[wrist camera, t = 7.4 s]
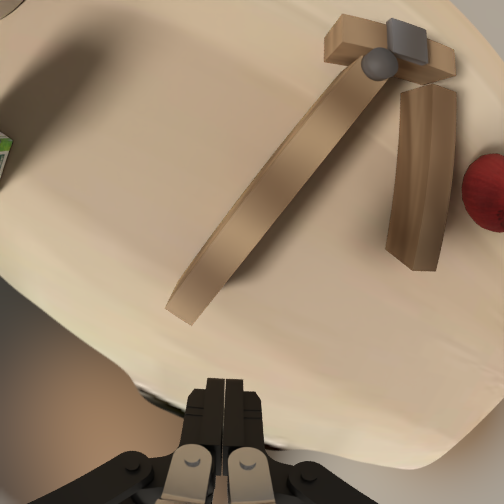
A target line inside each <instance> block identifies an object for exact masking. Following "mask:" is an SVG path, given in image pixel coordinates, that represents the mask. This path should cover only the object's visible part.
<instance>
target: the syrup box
mask: <svg viewBox="0 0 504 504" xmlns="http://www.w3.org/2000/svg"><path fill="white" fill-rule="evenodd" d="M12 142H13V140H11V139H10V138H9V137H7V136H6V135H4V134H3V133H1V132H0V178H1V175H2V172H3V168H4V165H5V162H6V159H7V156H8V153H9V150H10V147H11V145H12Z"/></svg>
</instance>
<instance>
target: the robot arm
mask: <svg viewBox="0 0 504 504" xmlns="http://www.w3.org/2000/svg"><path fill="white" fill-rule="evenodd" d="M22 1H23V0H0V19H1V18H3V17H5V16H6V15H8V14H9V13H10V12H11V11H13V10H14V9H15V8H16V7H17V6H18V5H19V4H20V3H21V2H22ZM224 389H225V379H219V378H207V385H206V389H194V390H193V391H192V393H191V394H190V395H189V396H188V400H187V406H186V411H185V417H184V422H183V428H182V434H181V440H180V444H179V447H178V448H177V449H176V450H175V451H174V452H173V453H172V454H170V455H167V456H163V457H157V458H148V457H147V456H146V455H144V454H142V453H140V452H137V451H127V452H124V453H121V454H120V455H118V456H116V457H115V458H113V459H111V460H110V461H108V462H106V463H105V464H103V465H101V466H99V467H97V468H96V469H94V470H92V471H91V472H89V473H87V474H85V475H84V476H81V477H80V478H78V479H76V480H74V481H72V482H70V483H68V484H67V485H65V486H63V487H61V488H59V489H57V490H55V491H53V492H51V493H49V494H47V495H45V496H43V497H41V498H38V499H36V500H34V501H32V502H30V503H28V504H212V500H213V493H214V489H215V480H216V475H219V476H220V475H221V466H222V444H223V475H224V476H228V484H227V487H228V489H227V492H228V504H378V503H377V502H375V501H374V500H372V499H370V498H369V497H367V496H366V495H364V494H363V493H361V492H359V491H358V490H356V489H355V488H353V487H352V486H350V485H349V484H347V483H346V482H344V481H343V480H342V479H340V478H339V477H337V476H336V475H335V474H333V473H332V472H330V471H329V470H327V469H326V468H325V467H323V466H322V465H320V464H318V463H316V462H311V461H304V462H300V463H298V464H296V465H294V466H292V465H288V464H283V463H279V462H277V461H275V460H273V459H272V458H270V457H269V456H268V455H267V453H266V451H265V447H264V436H263V422H262V409H261V400H260V398H259V397H258V395H257V394H256V392H249V391H243V380H242V379H226V389H225V408H224ZM223 423H224V428H223Z"/></svg>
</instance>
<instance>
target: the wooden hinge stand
mask: <svg viewBox="0 0 504 504" xmlns="http://www.w3.org/2000/svg"><path fill="white" fill-rule="evenodd" d="M377 47H382V48H385V49H387V50H389V51H391V52H392V53H393V54H394V56H395V57H396V59H397V61H398V71H397V73H396V74H395V75H394V76H393V77H396V78H400V79H404V80H407V81H410V82H414V83H417V84H420V85H425V84H429V83H432V82H435V81H439V80H442V79H446V78H450V77H453V76H456V68H455V54H454V49H451V48H449V47H447V46H444V45H442V44H440V43H437V42H435V41H432V40H430V39H427V36H426V30H425V29H423V28H420V27H417V26H414V25H412V24H409V23H406V22H403V21H400V20H397V19H394V18H391V19H390V20H388V21H387V22H386V25H385V24H382V23H378V22H375V21H371V20H367V19H363V18H359V17H355V16H350V15H346V14H342V15H341V16H340V17H339V19H338V20H337V21H336V23H335V24H334V26H333V27H332V28H331V30H330V31H329V32H328V34H327V35H326V36H325V38H324V62H327V63H333V64H339V65H344V66H349V65H350V64H352V63H353V62H354V61H356V60H357V59H358V58H359V57H361V56H363V57H364V56H365V55H366V54H367V53H369V52H370V51H371V50H373V49H374V48H377ZM456 108H457V100H456V92H454V91H451V90H449V89H446V88H443V87H441V86H438V85H435V84H430V85H426V86H423V87H419V88H416V89H413V90H409V91H406V92H403V93H401V102H400V128H399V144H398V157H397V168H396V178H395V187H394V195H393V203H392V210H391V217H390V224H389V230H388V236H387V242H386V248H385V249H386V250H387V251H388V252H389V253H391V254H392V255H393V256H394V257H396V258H397V259H398V260H400V261H401V262H402V263H403V264H405V265H406V266H407V267H408V268H410V269H411V270H412V271H436V268H437V264H438V260H439V255H440V251H441V246H442V241H443V236H444V231H445V225H446V220H447V214H448V207H449V200H450V193H451V185H452V177H453V167H454V155H455V140H456Z"/></svg>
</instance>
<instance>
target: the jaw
mask: <svg viewBox="0 0 504 504" xmlns="http://www.w3.org/2000/svg"><path fill="white" fill-rule="evenodd" d="M397 71H398V61H397V59H396V57H395V56H394V54H393V53H392V52H391V51H389V50H387V49H385V48H382V47H377V48H374V49H373V50H371V51H370V52H369V53H367V54H366V55H365V56H364V57H363V56H361V57H359V58H358V59H357V60H356V61H354V62H353V63H352V64H350V65H349V66H348V67H347V68H345V69H344V70H343V71H342V72H341V73H340V74H339V75H338V76H337V77H336V78H335V80H334V81H333V82H332V83H331V84H330V86H329V87H328V88H327V89H326V90H325V91H324V93H323V94H322V95H321V96H320V97H319V99H318V100H317V101H316V102H315V103H314V105H313V106H312V107H311V108H310V109H309V111H308V112H307V113H306V114H305V116H304V117H303V118H302V119H301V120H300V122H299V123H298V124H297V125H296V127H295V128H294V129H293V130H292V131H291V133H290V134H289V135H288V136H287V138H286V139H285V140H284V141H283V143H282V144H281V145H280V146H279V148H278V149H277V150H276V151H275V153H274V154H273V155H272V157H271V158H270V159H269V160H268V162H267V163H266V164H265V165H264V167H263V168H262V169H261V171H260V172H259V173H258V174H257V176H256V177H255V178H254V180H253V181H252V182H251V183H250V185H249V186H248V187H247V189H246V190H245V191H244V193H243V194H242V195H241V196H240V198H239V199H238V200H237V202H236V203H235V204H234V206H233V207H232V208H231V210H230V211H229V212H228V214H227V215H226V216H225V218H224V219H223V220H222V222H221V223H220V224H219V226H218V227H217V228H216V230H215V231H214V232H213V234H212V235H211V236H210V238H209V239H208V241H207V242H206V243H205V245H204V246H203V247H202V249H201V250H200V252H199V253H198V254H197V256H196V257H195V258H194V260H193V261H192V263H191V264H190V265H189V267H188V268H187V270H186V271H185V272H184V274H183V275H182V277H181V278H180V279H179V281H178V283H177V285H176V287H175V289H174V291H173V293H172V295H171V297H170V299H169V301H168V303H167V305H166V307H165V309H166V310H168V311H169V312H171V313H172V314H174V315H175V316H177V317H178V318H180V319H182V320H183V321H185V322H186V323H188V324H189V325H191V326H192V325H193V323H194V322H195V321H196V320H197V318H198V317H199V316H200V315H201V313H202V312H203V311H204V310H205V308H206V307H207V306H208V305H209V303H210V302H211V301H212V300H213V298H214V297H215V296H216V294H217V293H218V292H219V291H220V289H221V288H222V287H223V286H224V284H225V283H226V282H227V281H228V279H229V278H230V277H231V276H232V274H233V273H234V272H235V271H236V269H237V268H238V267H239V266H240V264H241V263H242V262H243V261H244V259H245V258H246V257H247V255H248V254H249V253H250V252H251V250H252V249H253V248H254V247H255V245H256V244H257V243H258V242H259V240H260V239H261V238H262V237H263V235H264V234H265V233H266V232H267V230H268V229H269V228H270V227H271V225H272V224H273V223H274V222H275V220H276V219H277V218H278V217H279V215H280V214H281V213H282V211H283V210H284V209H285V208H286V206H287V205H288V204H289V203H290V201H291V200H292V199H293V198H294V196H295V195H296V194H297V193H298V191H299V190H300V189H301V188H302V186H303V185H304V184H305V183H306V181H307V180H308V179H309V178H310V176H311V175H312V174H313V173H314V171H315V170H316V169H317V168H318V166H319V165H320V164H321V163H322V161H323V160H324V159H325V158H326V156H327V155H328V154H329V152H330V151H331V150H332V149H333V147H334V146H335V145H336V144H337V142H338V141H339V140H340V139H341V137H342V136H343V135H344V134H345V132H346V131H347V130H348V129H349V127H350V126H351V125H352V124H353V122H354V121H355V120H356V119H357V117H358V116H359V115H360V114H361V112H362V111H363V110H364V109H365V107H366V106H367V105H368V104H369V102H370V101H371V100H372V99H373V97H374V96H375V95H376V94H377V92H378V91H379V90H380V89H381V87H382V86H383V85H384V84H385V82H386V81H387V80H388V78H390V77H392V76H394V75H395V74H396V73H397Z"/></svg>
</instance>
